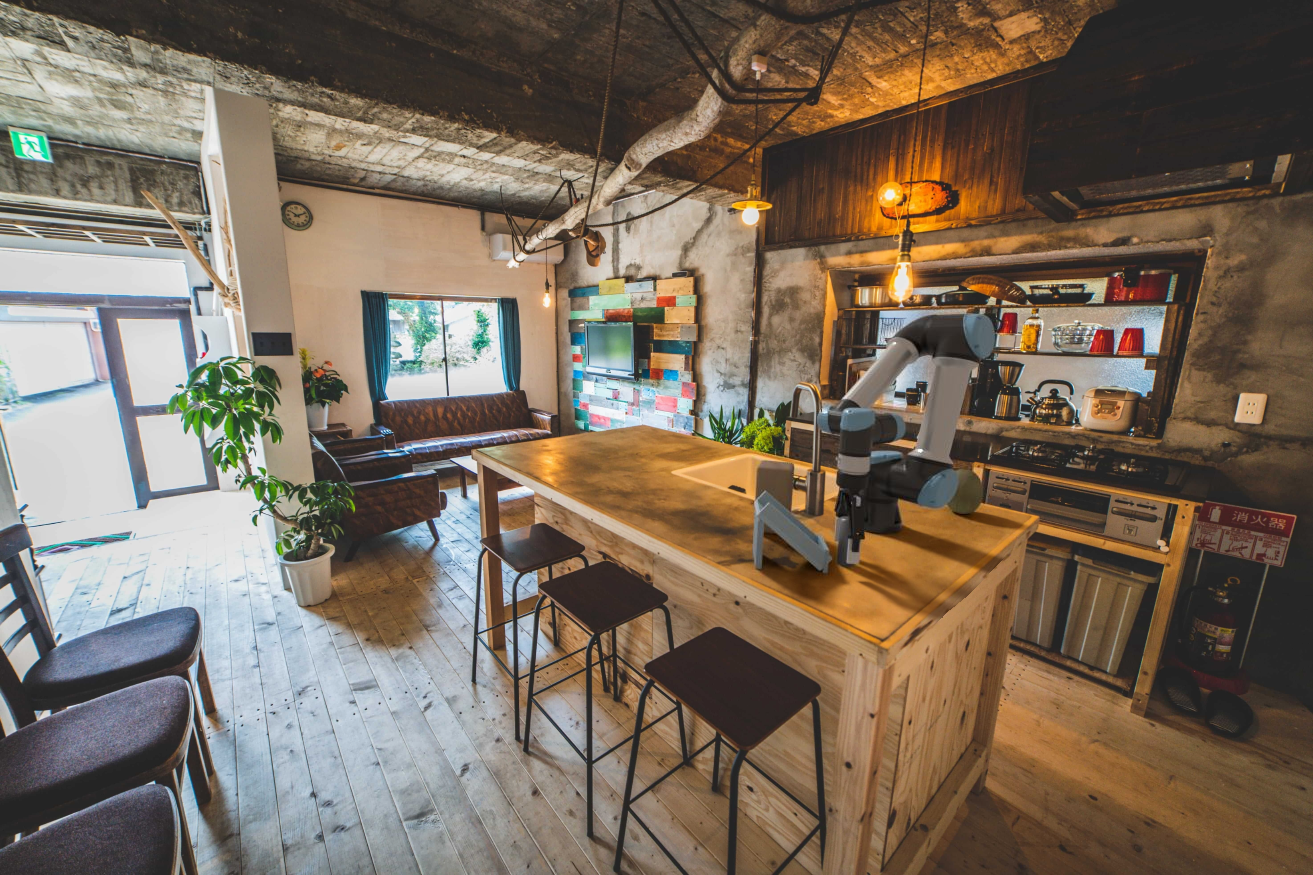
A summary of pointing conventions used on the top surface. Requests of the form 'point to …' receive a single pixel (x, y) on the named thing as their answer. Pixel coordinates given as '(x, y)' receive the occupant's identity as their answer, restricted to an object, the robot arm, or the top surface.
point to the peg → (843, 542)
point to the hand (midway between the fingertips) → (845, 551)
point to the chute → (787, 533)
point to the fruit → (966, 493)
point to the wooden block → (775, 483)
